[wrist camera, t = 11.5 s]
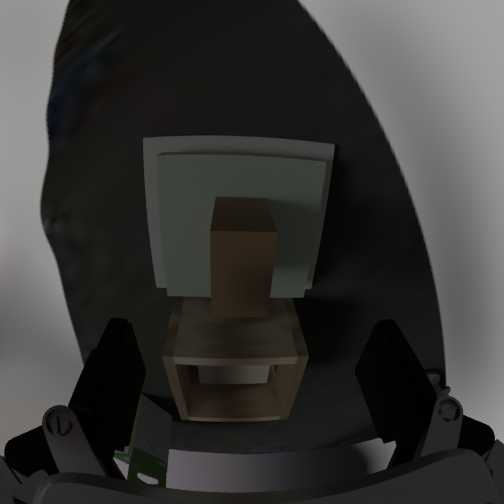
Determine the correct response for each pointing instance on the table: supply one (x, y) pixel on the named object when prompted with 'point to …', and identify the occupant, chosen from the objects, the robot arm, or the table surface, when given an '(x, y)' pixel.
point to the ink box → (148, 443)
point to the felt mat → (226, 144)
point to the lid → (238, 226)
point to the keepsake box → (234, 361)
